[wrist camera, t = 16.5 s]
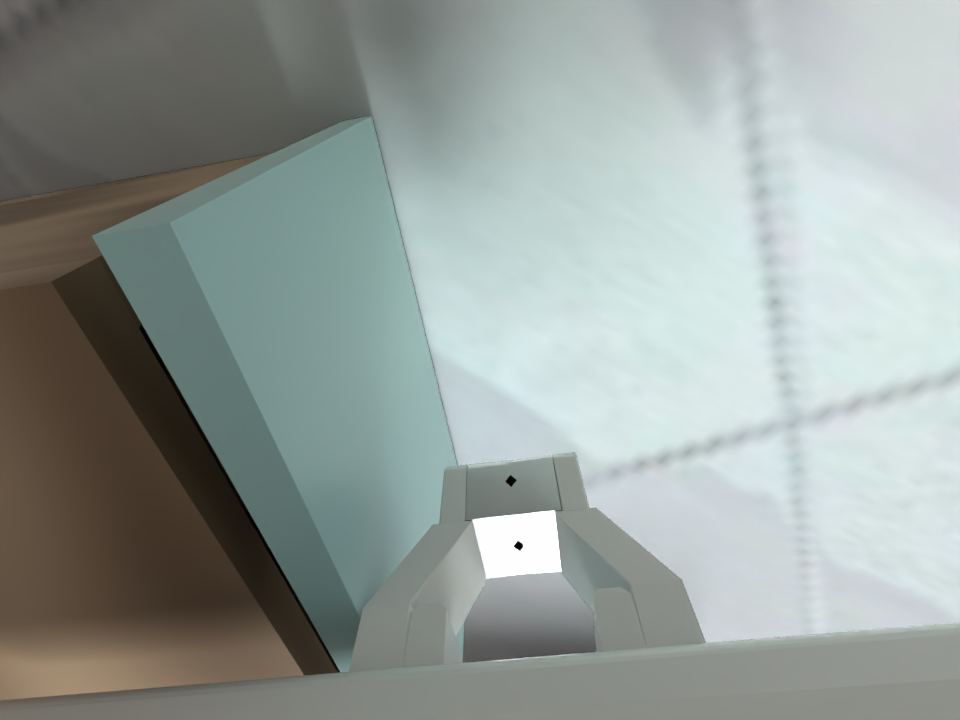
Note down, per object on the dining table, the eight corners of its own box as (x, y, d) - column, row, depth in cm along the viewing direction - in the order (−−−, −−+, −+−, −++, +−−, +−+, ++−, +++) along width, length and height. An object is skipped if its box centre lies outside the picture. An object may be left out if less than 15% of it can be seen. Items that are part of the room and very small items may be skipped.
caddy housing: (310, 146, 14) (50, 281, 6) (420, 499, 21) (378, 791, 13) (-133, 224, 15) (-893, 432, 7) (113, 533, 22) (-110, 820, 14)
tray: (371, 115, 13) (170, 222, 5) (467, 508, 21) (457, 820, 12) (-77, 196, 14) (-892, 400, 6) (169, 540, 22) (-29, 846, 14)
